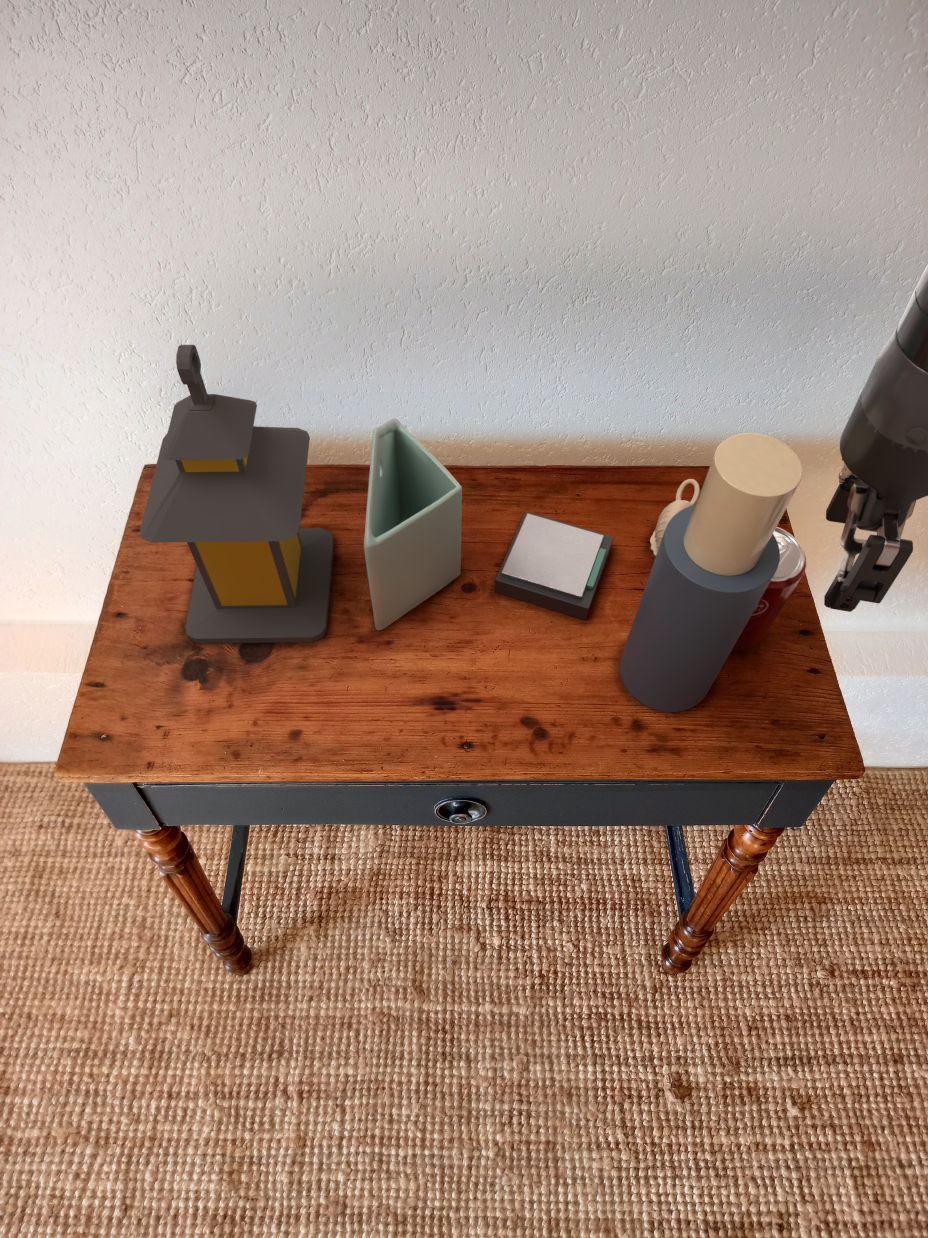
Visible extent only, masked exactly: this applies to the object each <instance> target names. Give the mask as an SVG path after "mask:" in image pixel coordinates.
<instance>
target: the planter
mask: <svg viewBox="0 0 928 1238" xmlns="http://www.w3.org/2000/svg"><path fill="white" fill-rule="evenodd" d="M371 435H372V437H371V449H370V460H369V461H370V462H369V474H368V486H367V487H368V488H367V498H366V499H367V500H366V510H365V524H364V536H363V538H364V539H363V551H364V559H365V565H366V572H367V579H368V580H367V581H368V585H369V593H370V600H371V606H372V613H373V621H374V626H375V630H376V631H382V630H384V629H386V628H388V627H389V626H390V625H391V624H393V623H394V622H395V621H397V620H399V619H400V618H401V617H403V616H404V615H406V614H407V613H409V612H410V611H412V610H413V609H414V608H416V607H418V606H419V605H420V604H422V603H424V601H426V600H427V599H429V598H431V597H432V596H433V595H435V594H437V592H439V591H441V590H442V589H444V587H446V586H447V585H449V584H450V583H451V582H452V581H454V580H455V579H457V578H458V577H459V576H460V575H461V573H462V572H461V571H462V570H461V569H462V568H461V566H462V563H461V562H462V518H463V517H462V515H463V513H462V512H463V487H462V485H461V484H460V483H459V482H458V480H457V479H456V478H455V477H454V476H453V475H452V474H451V472H450V471H449V470H448V469H447V468H446V467H445V466H444V465H443V464H442V463H441V462H440V460H438V459H437V458H436V457H435V456H434V455H433V454H432V453H431V452H430V451H429V450H428V449H427V448H425V446H424V445H422V444H421V442H419V440H418V439H416V438H415V436H414V435H413V434H412V433H411V432H410V431H409V430H408V429H407V428H406V427H405V426H404V424H402V423H401V421H400V420H399V419H398V418H391V419H389V420H388V421H386V422H385V423H383V424H381V425H379V426H377V427H375V428H374V429H373V430H372V434H371Z"/></svg>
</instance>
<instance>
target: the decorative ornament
mask: <svg viewBox="0 0 928 1238" xmlns="http://www.w3.org/2000/svg"><path fill="white" fill-rule="evenodd" d="M690 484H691V485H692V486H693V488H694V492H693V496H692V499H691V500H685V499H683V500H682V496H683V491H684V490H685V488H686V487H687V486H688V485H690ZM700 491H701V489H700V484H699V482H698V481H697V480H696V479H693V478H687V479H685V480H683V482H682V483H681V484H680V485H679V487H678V488H677V491H676V494H675V500H674V501H672V502H671V503H669V504H668V505H667V506H666V507H664V509H663V510H662V511H661V513H660V514H659V516H658V520H657V523H656V526H655V530H654V531H653V533H652V535H651V537H650V539H649V542H650V543H649V544H650V550H651V551H652V552H653V556H654V557H656V555H657V552H658V549H659V546H660V543H661V540H662V537H663V535H664V532H665V529H666V527H667V524H668V523H669V521H670V520H671V519H672V517H673V516H674V515H675V514H677V513H678V512H679V511H681V510H683V509H684V508H686V507H689V506H691V505H695V504H696V502H697V499H698V496H699V494H700Z"/></svg>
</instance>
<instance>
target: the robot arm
mask: <svg viewBox="0 0 928 1238" xmlns="http://www.w3.org/2000/svg"><path fill="white" fill-rule="evenodd" d="M839 439H840V440H839V452H840V456H841V461H843V465H842V466H843V467H842V468H841V470H840V471H839V473H838V477H837V478H838V482H839V484H838V485H837V488H836V489H835V492H834V493H833V496H832V498H831V499H830V502H829V504H828V506H827V508H826V509H825V520H826V521H828V522H833V523H838V524H844V526H843V529H842V533H841V536H840V539H839V544H840V546H841V547H842V549H843V550H844V553H843V556H842V560H841V563H840V567H839V569H838V572H837V574H836V575H835V577H834V579H833V581H832V582H831V584H830V586H829V587H828V589H827V591H826V593H825V594H824V596H823V597H824V599H823V605H824V607H826V608H829V609H830V610H836V611H843V612H849V613H851V612H853V611H854V610H855V609H856V608H857V606H858V605H859V604H860V602H868V603H873V604H881V602H882V601H883V600H884V598H885V596H886V595H887V594H888V591H890V589H891V587H892V585H893V584H894V582H895V580H896V579H897V577H898V576H899V574H900V573H901V571H902V570H903V568H904V567H905V565H906V564H907V562H908V560H909V559H910V557H911V555H912V553H913V551H914V542H913V540H912V539H911V540H910V539H905V538H902V535H903V533H904V528H905V525H906V523H907V520H909V519H910V518H911V517H912V516H913V513H914V510H915V507H916V503H917V501H918V500H921V499H923V498H926V497H928V264H927V265H926V267H925V268H924V271H923V272H922V274H921V277H919V280H918V282H917V284H916V286H915V288H914V290H913V292H912V295H911V297H910V299H909V300H908V303H907V305H906V307H905V309H904V311H903V313H902V316H901V318H900V320H899V322H898V324H897V326H896V328H895V329H894V331H893V333H892V335H891V336H890V337H889V339H888V340H887V341H886V343H885V344H884V346H883V348H882V349H881V351H880V353H879V354H878V356H877V358H876V360H875V362H874V364H873V367H872V368H871V370H870V373H869V375H868V377H867V379H866V381H865V384H864V386H863V388H862V390H861V392H860V394H859V396H858V398H857V401H856V402H855V405H854V407H853V409H852V411H851V414H850V415H849V418H848V420H847V421H846V424H845V426H844V429H843V430H842V433H841V436H840V438H839ZM857 529H858V530H861V531H866V532H873V533H876V534H869V536H868V537H867V539H863V538H856V537H855V535H856V532H857Z"/></svg>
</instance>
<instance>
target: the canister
mask: <svg viewBox="0 0 928 1238" xmlns="http://www.w3.org/2000/svg"><path fill="white" fill-rule="evenodd" d="M803 473H804V471H803V465H802V462H801V459H800V457H799V456H798V455H797V454H796V452H795V451H794V450H793V449H792V448H791V447H790V446H789V445H787V444H785V443H784V442H783V441H781V440H779V439H777V438H774V437H772V436H769V435H766V434H760V433H755V432H753V433H752V432H751V433H750V432H748V433H738V434H735V435H732V436H729V437H727V438H726V439H724V440H723V441H722V442H721V443H720V444H719V445H718V446H717V447H716V450H715V452H714V455H713V457H712V460H711V462H710V465H709V468H708V469H707V473H706V475H705V478H704V481H703V483H702V485H701V489H700V493H699V496H698V499H697V502H696V504H695V507H694V510H693V512H692V515H691V517H690V520H689V523H688V525H687V528H686V531H685V533H684V539H683V542H684V547H685V550H686V552H687V554H688V555H689V557H690V558H691V559H692V561H693V562H695V563H696V564H697V565H698V566H700V567H701V568H703V569H704V570H706V571H709V572H711V573H714V574H718V575H724V576H735V575H740V574H743V573H746V572H748V571H749V570H751V569H752V568H753V567H755V566H756V564H757V563H758V561H759V559H760V557H761V555H762V554H763V552H764V550H765V548H766V546H767V544H768V542H769V540H770V538H771V536H772V535H773V533H774V531H775V529H776V527H778V525H779V523H780V521H781V519H782V517H783V515H784V514H785V512H786V509H787V508H788V506H789V504H790V502H791V500H792V498H793V497H794V494H795V493H796V491H797V490H798V487H799V485H800V483H801V481H802V480H803V479H802V478H803Z"/></svg>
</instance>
